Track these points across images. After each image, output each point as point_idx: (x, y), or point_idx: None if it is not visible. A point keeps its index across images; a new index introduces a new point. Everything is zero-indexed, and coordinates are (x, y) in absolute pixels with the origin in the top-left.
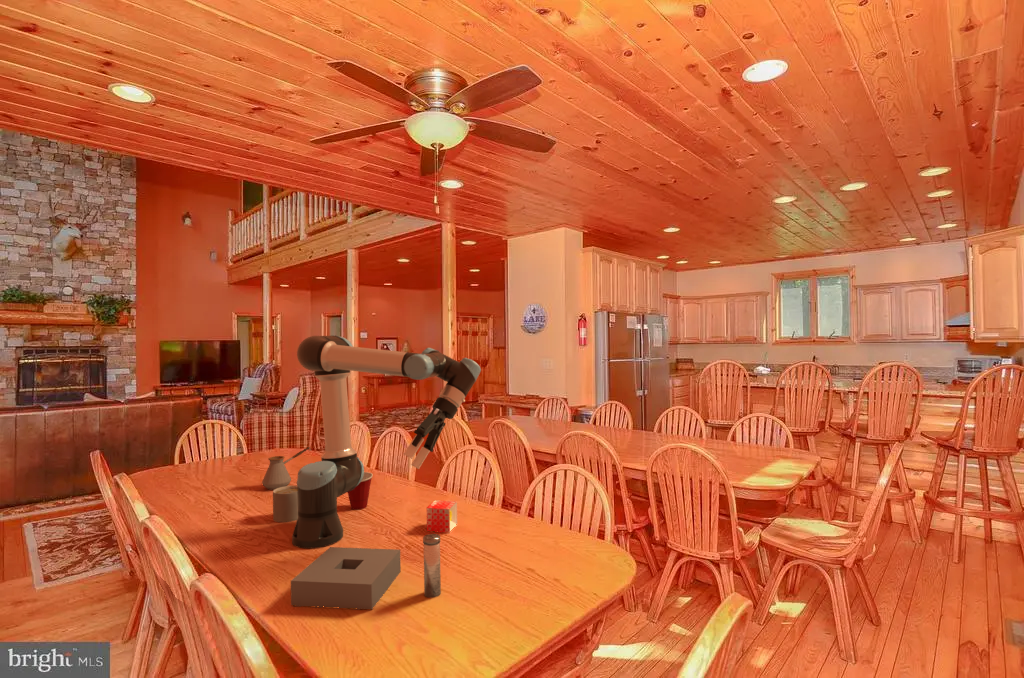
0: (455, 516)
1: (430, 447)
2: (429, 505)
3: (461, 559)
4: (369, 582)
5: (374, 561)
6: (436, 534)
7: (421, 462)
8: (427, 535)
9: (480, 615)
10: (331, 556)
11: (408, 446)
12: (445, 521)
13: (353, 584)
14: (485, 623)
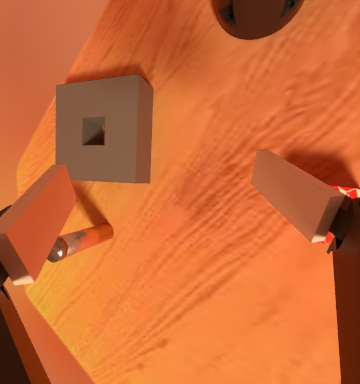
0: None
1: (335, 251)
2: (340, 187)
3: (187, 256)
4: None
5: (101, 160)
6: (60, 255)
7: (266, 194)
8: (56, 243)
9: (76, 280)
10: (111, 95)
11: (34, 183)
12: None
13: (56, 158)
14: (66, 284)
